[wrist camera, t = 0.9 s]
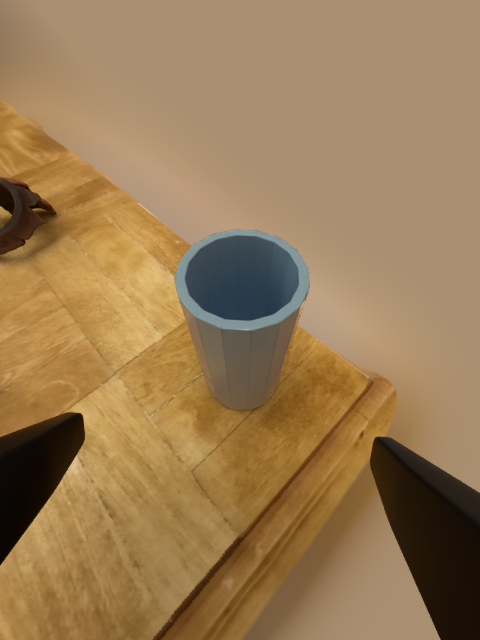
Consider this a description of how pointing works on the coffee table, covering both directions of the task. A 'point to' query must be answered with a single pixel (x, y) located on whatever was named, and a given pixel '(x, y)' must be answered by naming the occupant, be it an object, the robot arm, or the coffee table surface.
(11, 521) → the robot arm
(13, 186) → the brown hollow shell
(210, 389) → the tall blue mug
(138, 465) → the coffee table surface
